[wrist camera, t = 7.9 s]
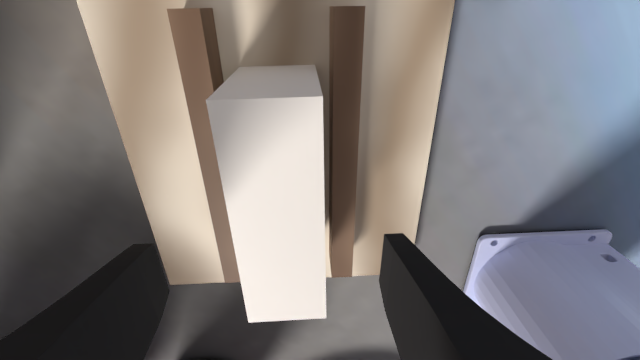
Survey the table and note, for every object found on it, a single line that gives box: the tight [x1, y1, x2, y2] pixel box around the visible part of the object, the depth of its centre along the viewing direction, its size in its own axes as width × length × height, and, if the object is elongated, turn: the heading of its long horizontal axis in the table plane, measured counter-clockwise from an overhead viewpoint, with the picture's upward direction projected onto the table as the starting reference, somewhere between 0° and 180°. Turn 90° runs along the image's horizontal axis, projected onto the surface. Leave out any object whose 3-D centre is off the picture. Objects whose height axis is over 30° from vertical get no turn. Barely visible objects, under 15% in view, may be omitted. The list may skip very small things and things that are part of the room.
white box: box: [206, 65, 326, 323], centre depth 15 cm, size 4×10×6 cm, turn 1°
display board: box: [76, 0, 455, 285], centre depth 17 cm, size 16×18×4 cm
